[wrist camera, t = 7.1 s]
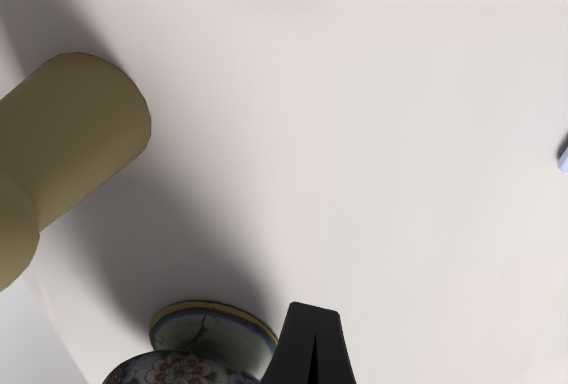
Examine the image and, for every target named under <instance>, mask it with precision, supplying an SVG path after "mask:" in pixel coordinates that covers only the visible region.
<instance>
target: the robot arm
mask: <svg viewBox="0 0 568 384" xmlns="http://www.w3.org/2000/svg"><path fill="white" fill-rule="evenodd" d="M557 164H558V168H559V169H560V170H561V172H562V173H563V174H566V175H568V147H567V149H566V150H565V152H564V153H563V155H562V156H561V158H560V159H559V161H558V163H557ZM259 384H356V381H355V377H354V374H353V371H352V367H351V364H350V360H349V356H348V352H347V348H346V344H345V340H344V336H343V331H342V326H341V320H340V315H339V313H338V312H337V311H333V310H329V309H325V308H320V307H316V306H312V305H308V304H303V303H299V302H292V303H290V305H289V308H288V312H287V315H286V318H285V321H284V324H283V328H282V331H281V334H280V337H279V341H278V345H277V348H276V350H275V352H274V354H273V357H272V359H271V361H270V363H269V365H268V367H267V369H266V371H265V373H264V375H263V377H262V379H261V381H260V383H259Z"/></svg>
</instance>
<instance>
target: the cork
mask: <svg viewBox="0 0 568 384" xmlns="http://www.w3.org/2000/svg"><path fill="white" fill-rule="evenodd" d="M150 136H151V117H150V114H149V110H148V107H147V104H146V101H145V99H144V98H143V96H142V95H141V93H140V91H139V90H138V88H137V87H136V85H135V84H134V83H133V82H132V81H131V80H130V79H129V78H128V77H127V76H126V75H125V74H124V73H123V72H122V71H121V70H120V69H119V68H117V67H115V66H114V65H112V64H110V63H108V62H107V61H105V60H103V59H101V58H99V57H96V56H92V55H88V54H84V53H80V52H78V53H66V54H60V55H58V56H56V57H54V58H52V59H51V60H49V61H47V62H46V63H44V64H43V65H42V66H41V67H40V68H38V69H37V70H36V71H35V72H34V73H32V74H31V75H30V76H29V77H28V78H26V79H25V80H24V81H23V82H22V83H20V84H19V85H18V86H17V87H16V88H14V89H13V90H12V91H11V92H10V93H8V94H7V95H6V96H5V97H4V98H2V99H1V100H0V292H1V291H2V290H4V289H5V288H7V287H8V286H9V285H10V284H11V283H13V282H14V281H15V280H16V279H17V278H18V277H19V276H20V275H21V274H22V272H23V271H24V270H25V269H26V268H27V267H28V266H29V264H30V262H31V260H32V258H33V256H34V254H35V252H36V249H37V245H38V242H39V238H40V234H39V232H40V231H42V230H43V229H44V228H45V227H47V226H48V225H49V224H51V223H52V222H53V221H55V220H56V219H57V218H58V217H60V216H61V215H62V214H64V213H65V212H66V211H68V210H69V209H70V208H71V207H73V206H74V205H75V204H77V203H78V202H79V201H81V200H82V199H83V198H84V197H86V196H87V195H88V194H90V193H91V192H92V191H94V190H95V189H96V188H97V187H99V186H100V185H101V184H103V183H104V182H105V181H106V180H108V179H109V178H110V177H112V176H113V175H114V174H116V173H117V172H118V171H119V170H121V169H122V168H123V167H125V166H126V165H127V164H129V163H130V162H131V161H132V160H134V159H135V158H136V157H137V156H138V155H139V154H140V153H141V152H142V151H143V150H145V148H146V146H147V143H148V141H149V139H150Z"/></svg>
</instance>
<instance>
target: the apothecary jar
mask: <svg viewBox="0 0 568 384" xmlns="http://www.w3.org/2000/svg"><path fill="white" fill-rule="evenodd" d="M149 338H150V342H151V345H152V347H153V350H154V351H152V352H148V353H144V354H141V355H138V356H135V357H133V358H131V359H128V360H126V361H125V362H123V363H121V364H120V365H118V366H117V367H116V368H115V369H114V370H113V371H112V372H111V373H110V374H109V375H108V376H107V377H106V379H105V380H104V382H103V383H102V384H259V383H260V381H261V379H262V377H263V375H264V373H265V371H266V369H267V367H268V365H269V363H270V361H271V359H272V357H273V354H274V352H275V350H276V348H277V345H278V341H277V339H276V338H275V336H274V335H273V333H272V332H271V331H270V330H269V329H268V328H267V327H266V326H265V325H264V324H263V323H261V322H260V321H259V320H257V319H256V318H254V317H253V316H251V315H249V314H247V313H245V312H243V311H241V310H239V309H236V308H233V307H231V306H227V305H224V304H220V303H215V302H208V301H188V302H181V303H177V304H174V305H171V306H168V307H166V308H165V309H163V310H161V311H160V312H159V313H158V314H157V315H156V316H155V317H154V318H153V320H152V322H151V324H150V330H149Z"/></svg>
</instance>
